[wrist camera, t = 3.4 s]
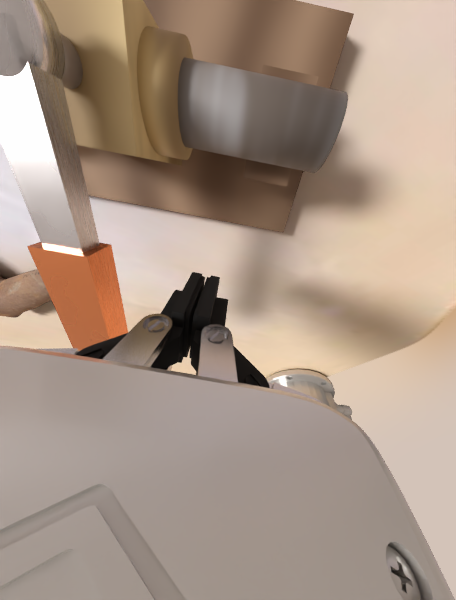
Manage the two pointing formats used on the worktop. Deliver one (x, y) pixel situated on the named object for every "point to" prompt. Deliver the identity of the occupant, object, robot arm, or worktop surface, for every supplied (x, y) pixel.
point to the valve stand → (202, 101)
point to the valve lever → (54, 175)
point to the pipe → (22, 293)
